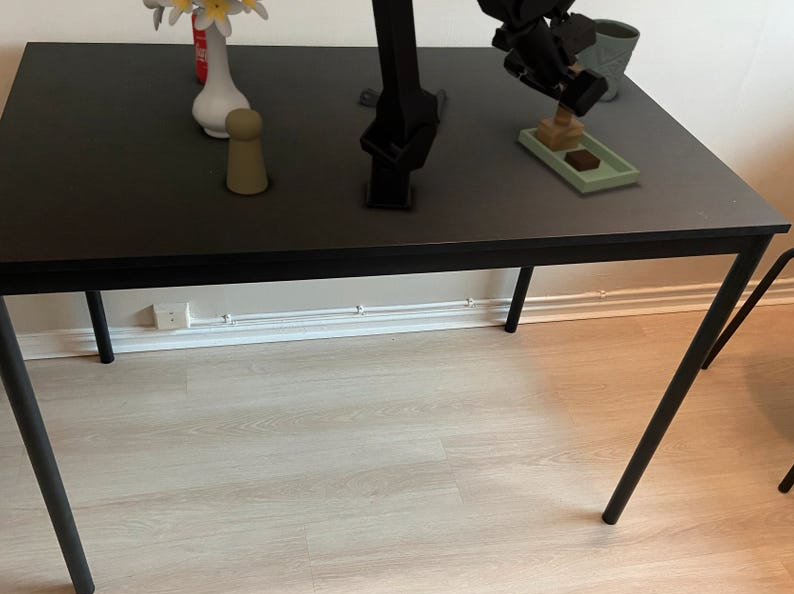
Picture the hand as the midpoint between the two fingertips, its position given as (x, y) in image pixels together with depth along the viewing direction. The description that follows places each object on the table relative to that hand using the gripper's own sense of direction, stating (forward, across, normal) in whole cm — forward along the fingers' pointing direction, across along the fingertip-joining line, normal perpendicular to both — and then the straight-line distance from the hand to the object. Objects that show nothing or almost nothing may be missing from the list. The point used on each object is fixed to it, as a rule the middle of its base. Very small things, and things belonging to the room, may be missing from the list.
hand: (572, 106), depth 115 cm
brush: (+4, 0, +6) cm, 7 cm away
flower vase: (-31, +26, +42) cm, 58 cm away
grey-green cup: (+20, +16, -10) cm, 28 cm away
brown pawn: (-32, +8, +43) cm, 55 cm away
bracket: (-8, +23, +18) cm, 30 cm away
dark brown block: (+3, -7, +6) cm, 10 cm away
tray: (+4, -6, +6) cm, 9 cm away
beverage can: (-27, +45, +38) cm, 65 cm away
